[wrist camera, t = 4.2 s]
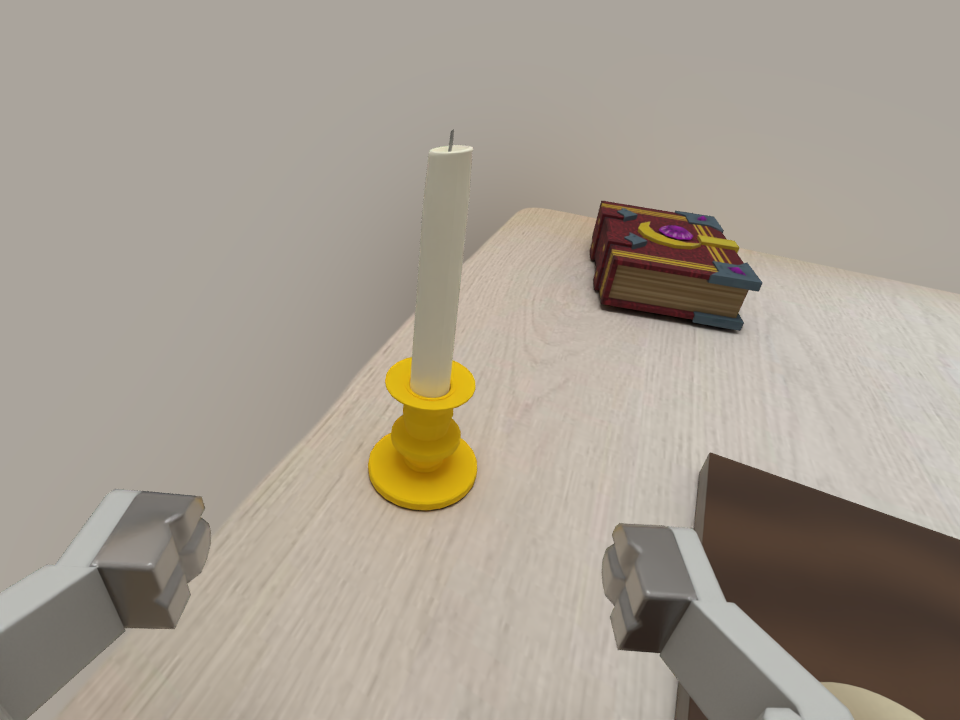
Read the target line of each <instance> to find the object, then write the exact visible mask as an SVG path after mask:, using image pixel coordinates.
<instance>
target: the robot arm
mask: <svg viewBox="0 0 960 720" xmlns="http://www.w3.org/2000/svg"><path fill="white" fill-rule="evenodd" d="M204 509H205V506H204V503H203V500H202V497H201V496H192V495H180V494H170V493H159V492H149V491H136V490H123V489H114V490H113V491H111V492H110V493H108V494H107V495H106V496H105V497H104V498H103V500H102V501H101V503H100V504H99V505H98V507H97V508H96V509H95V511H94V512H93V513H92V515H91V516H90V518H89V519H88V521H87V522H86V523H85V524H84V526H83V527H82V529H81V530H80V531H79V533H78V534H77V535H76V537H75V538H74V540H73V541H72V542H71V544H70V545H69V546H68V548H67V549H66V550H65V552H64V553H63V555H62V556H61V557H60V559H59V560H58V561H57V563H56V564H55V565H45V566H43V567H41V568H40V569H38V570H36V571H35V572H33V573H32V574H30V575H28V576H27V577H25V578H23V579H22V580H20V581H18V582H17V583H15V584H14V585H12V586H10V587H9V588H7V589H6V590H4V591H2V592H0V720H27V719H28V718H29V717H30V716H31V715H32V714H33V713H34V712H35V711H37V710H38V709H39V708H40V707H41V706H42V705H43V704H44V703H46V702H47V701H48V700H49V699H50V698H51V697H52V696H53V695H54V694H56V693H57V692H58V691H59V690H60V689H61V688H62V687H63V686H64V685H66V684H67V683H68V682H69V681H70V680H71V679H72V678H74V677H75V676H76V675H77V674H78V673H79V672H80V671H81V670H82V669H84V667H86V666H87V665H88V664H89V663H90V662H91V661H92V660H94V659H95V658H96V657H97V656H98V655H99V654H100V653H101V652H103V651H104V650H105V649H106V648H107V647H108V646H109V645H110V644H112V643H113V642H114V641H115V640H116V639H117V638H118V637H119V636H120V635H122V634H123V633H124V632H125V628H147V629H175V628H176V625H177V623H178V621H179V619H180V617H181V615H182V613H183V610H184V608H185V606H186V604H187V602H188V600H189V598H190V596H191V594H190V591H189V587H188V584H187V583H189V582H190V581H191V580H192V579H194V578H195V577H196V576H198V575H199V574H200V573H201V572H202V569H203V567H204V565H205V563H206V560H207V557H208V553H209V549H210V545H211V530H210V526H209V523H207V522H206V521H205V520H204V519H203V518H201V515H202V513H203V511H204ZM612 537H613V541H614V544H613V545H611V546H610V547H608V548H607V549H606V551H605V554H604V557H603V561H602V583H603V588H604V593H605V596H606V597H607V598H608V599H609V600H610V601H611V603H612V604H613V605H614V606H615V607H614V609H613V611H612V613H611V616H610V619H611V623H612V628H613V632H614V636H615V640H616V645H617V649H618V650H626V651H640V652H653V653H660V657H661V658H662V659H663V661H664V662H665V663H666V665H667V666H668V667H669V669H670V670H671V671H672V673H673V674H674V675H675V677H676V678H677V679H678V681H679V682H680V683H681V685H682V686H683V687H684V688H685V690H686V691H687V692H688V694H689V695H690V696H691V698H692V699H693V700H694V702H695V703H696V704H697V706H698V707H699V708H700V710H701V711H702V712H703V714H704V715H705V716H706V717H707V719H708V720H854V718H853V716H852V714H851V713H850V711H849V709H848V708H847V707H846V706H845V705H844V704H843V703H842V702H840V701H839V700H838V699H837V698H836V697H835V696H834V695H833V694H832V693H831V692H830V691H829V690H828V689H826V688H825V687H824V686H823V685H822V684H821V683H820V682H819V681H818V680H817V679H816V678H815V677H813V676H812V675H811V674H810V673H809V672H808V671H807V670H806V669H805V668H804V667H803V666H802V665H801V664H799V663H798V662H797V661H796V660H795V659H794V658H793V657H792V656H791V655H790V654H789V653H788V652H786V651H785V650H784V649H783V648H782V647H781V646H780V645H779V644H778V643H777V642H776V641H775V640H774V639H772V638H771V637H770V636H769V635H768V634H767V633H766V632H765V631H764V630H763V629H762V628H761V627H759V626H758V625H757V624H756V623H755V622H754V621H753V620H752V619H751V618H750V617H749V616H748V615H747V614H745V613H744V612H743V611H742V610H741V609H740V608H739V607H738V606H737V605H736V604H735V603H730V602H726V600H725V597H724V595H723V593H722V590H721V588H720V586H719V583H718V581H717V579H716V577H715V574H714V572H713V570H712V567H711V565H710V563H709V560H708V558H707V556H706V554H705V551H704V549H703V547H702V544H701V542H700V540H699V537H698V535H697V533H696V532H695V531H694V530H693V529H692V528H685V527H669V526H667V527H666V526H662V525H643V524H624V523H619V524H618V525H617V526H616V527H615V529H614V531H613V534H612Z"/></svg>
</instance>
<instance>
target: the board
mask: <svg viewBox="0 0 960 720" xmlns="http://www.w3.org/2000/svg"><path fill="white" fill-rule="evenodd" d="M694 531H695V532H696V533H697V535H698V537H699V540H700V542H701V544H702V547H703V549H704V551H705V554H706V556H707V558H708V560H709V563H710V565H711V567H712V570H713V572H714V574H715V577H716V579H717V581H718V583H719V586H720V588H721V590H722V593H723V595H724V597H725V600H726V602H730V603H735V604H736V605H737V606H738V607H739V608H740V609H741V610H742V611H743V612H744V613H745V614H747V615H748V616H749V617H750V618H751V619H752V620H753V621H754V622H755V623H756V624H757V625H758V626H759V627H761V628H762V629H763V630H764V631H765V632H766V633H767V634H768V635H769V636H770V637H771V638H772V639H774V640H775V641H776V642H777V643H778V644H779V645H780V646H781V647H782V648H783V649H784V650H785V651H786V652H788V653H789V654H790V655H791V656H792V657H793V658H794V659H795V660H796V661H797V662H798V663H799V664H801V665H802V666H803V667H804V668H805V669H806V670H807V671H808V672H809V673H810V674H811V675H812V676H813V677H815V678H816V679H817V680H818V681H819V682H820V683H821V684H822V685H823V686H824V687H825V688H826V689H828V690H829V691H830V692H831V693H832V694H833V695H834V696H835V697H836V698H837V699H838V700H839V701H840V702H842V703H843V704H844V705H845V706H846V707H847V708H848V709H849V711H850V713H851V714H852V716H853V718H854V720H960V540H959V539H956V538H953V537H950V536H947V535H945V534H942V533H939V532H936V531H933V530H930V529H927V528H925V527H922V526H919V525H916V524H913V523H910V522H907V521H905V520H902V519H899V518H896V517H893V516H890V515H887V514H885V513H882V512H879V511H876V510H873V509H870V508H867V507H865V506H862V505H859V504H856V503H853V502H850V501H847V500H845V499H842V498H839V497H836V496H833V495H830V494H828V493H825V492H822V491H819V490H816V489H813V488H810V487H808V486H805V485H802V484H799V483H796V482H793V481H790V480H788V479H785V478H782V477H779V476H776V475H773V474H770V473H768V472H765V471H762V470H759V469H756V468H753V467H750V466H748V465H745V464H742V463H739V462H736V461H733V460H730V459H728V458H725V457H722V456H719V455H716V454H713V453H709V455H708V457H707V459H706V461H705V463H704V465H703V467H702V469H701V471H700V474H699V485H698V495H697V505H696V515H695V525H694ZM675 720H708V719H707V717H706V716H705V715H704V714H703V712H702V711H701V710H700V708H699V707H698V706H697V704H696V703H695V702H694V700H693V699H692V698H691V696H690V695H689V694H688V692H687V691H686V690H685V688H684V687H683V686H682V685H681V683H680V682H679V685H678V695H677V705H676V715H675Z"/></svg>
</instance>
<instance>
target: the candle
mask: <svg viewBox="0 0 960 720" xmlns="http://www.w3.org/2000/svg"><path fill="white" fill-rule="evenodd" d="M453 133H454V130H452V131H451V135H450V142H449V146H443V147H438V148H434V149H431V150H430V151H429V156H428V164H427V173H426V182H425V191H424V199H423V212H422V226H421V241H420V254H419V268H418V281H417V295H416V309H415V323H414V337H413V351H412V357H410V358H406V359H404V360H401V361H399V362H397V363H396V364H395V365H393V366H392V367H391V368H390V369H389V371H388V372H387V374H386V379H385V384H386V388H387V390H388V392H389V393H390V394H391V396H392V397H393V398H395V399H396V400H397V401H399V402H400V403H402V404H404V406H403V415H402V416H400V417H399V418H398V419H397V420H396V421H395V423H394V424H393V426H392V431H391V433H389V434H388V435H386V436H384V437H383V438H382V439H381V440H380V441H379V442H378V443H376V445H375V446H374V448H373V450H372V451H371V453H370V458H369V463H368V470H369V476H370V480H371V482H372V484H373V486H374V488H375V489H376V491H378V492H379V493H380V494H381V495H382V496H383V497H384V498H385V499H387V500H389V501H390V502H392V503H394V504H396V505H398V506H401V507H405V508H409V509H412V510H433V509H439V508H444V507H446V506H449V505H451V504H454V503H456V502H457V501H459V500H460V499H461V498H463V497H464V496H466V494H467V493H468V492H469V491H470V489H471V488H472V487H473V484H474V481H475V478H476V474H477V460H476V457H475V455H474V452H473V450H472V449H471V448H470V446H469V445H468V444H467V443H466V442H465V441H464V440H463V439H461V432H460V429H459V426H458V425H457V423H456V422H455V421H454V420H453V419H452V416H453V408H456V407H459V406H461V405H462V404H464V403H466V402H467V401H468V400H469V399H470V398H471V397H472V396H473V393H474V391H475V380H474V377H473V375H472V374H471V372H470V371H469V370H468V369H467V368H466V367H464V366H463V365H461V364H460V363H458V362H455V361H453V360H452V359H453V350H454V340H455V330H456V321H457V311H458V302H459V292H460V282H461V273H462V263H463V253H464V243H465V234H466V225H467V215H468V206H469V196H470V181H471V165H472V152H473V148H472V147H470V146H464V145H453Z"/></svg>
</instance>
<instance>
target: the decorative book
mask: <svg viewBox="0 0 960 720" xmlns="http://www.w3.org/2000/svg"><path fill="white" fill-rule="evenodd" d="M723 231H724V230H723V229H722V228H721V226H720V225H719V223H718V222H717V220H716V219H715V218H714V217H712V216H706V215H699V214H693V213H687V212H680V211H675V213H673V212H668V211H662V210H656V209H649V208H643V207H637V206H631V205H625V204H618V203H612V202H606V201H601V204H600V209H599V213H598V216H597V220H596V224H595V228H594V232H593V236H592V245H591V248H590V256H591V259H592V260H595V263H596V272H595V275H594V279H593V281H594V289H595V290H598V291H600V298H601V304H604V305H610V306H616V307H622V308H628V309H633V310H639V311H645V312H651V313H657V314H663V315H669V316H674V317H680V318H686V319H692V320H693V321H692V322H694V323H700V324H705V325H711V326H716V327H722V328H728V329H733V330H739V331H740V330H741V328H742V326H743V324H744V322H743V320H742V319H741V317H740V315H739V314H738V312H739V310H740V308H741V306H742V303H743V301H744V299H745V297H746V295H747V292H748V290H752V291H758V292H759V290H760V287H761V285H762V281H761V280H760V279H759V278H758V276H757V275H756V274H755V272H754V271H753V270H752V268H751V267H750V266H749V264H748V263H743V261H742V260H741V258H740V257H739V256H738V254H737V252H738V250H739V246H738V245H737V244H736V242H735V241H732V240H727V239H726V238H725V236H724V235H723Z"/></svg>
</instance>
